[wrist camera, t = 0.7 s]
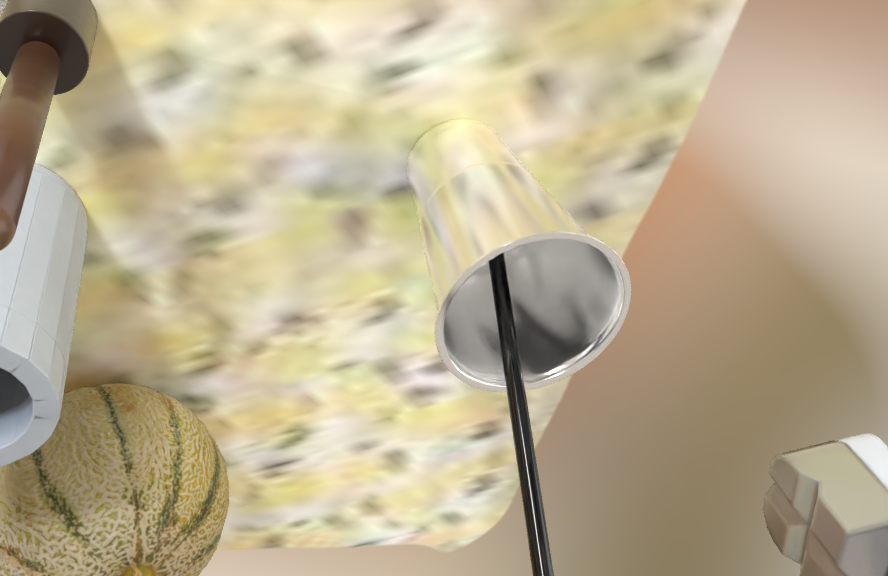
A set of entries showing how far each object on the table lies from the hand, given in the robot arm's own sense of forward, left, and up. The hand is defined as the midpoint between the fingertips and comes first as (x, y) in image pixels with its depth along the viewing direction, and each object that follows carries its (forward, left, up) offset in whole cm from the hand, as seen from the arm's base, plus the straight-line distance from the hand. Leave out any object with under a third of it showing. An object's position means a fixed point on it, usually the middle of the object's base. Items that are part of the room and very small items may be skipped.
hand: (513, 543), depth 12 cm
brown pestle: (+4, -12, -37) cm, 39 cm away
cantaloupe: (+32, -17, -37) cm, 52 cm away
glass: (+17, +8, -37) cm, 42 cm away
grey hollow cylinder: (+15, -18, -37) cm, 44 cm away
